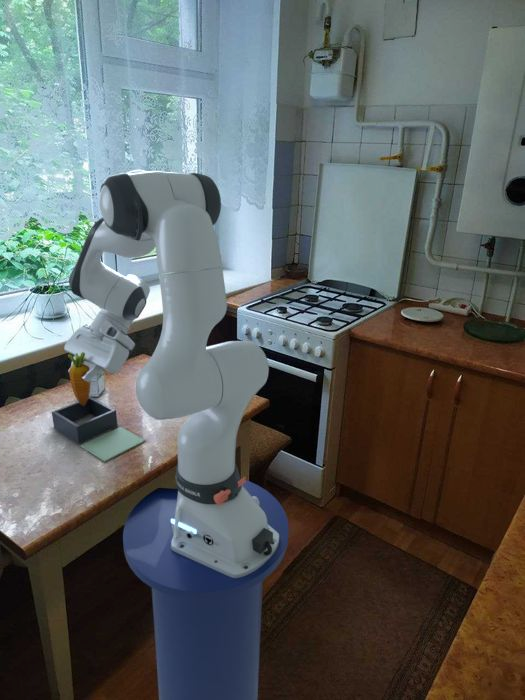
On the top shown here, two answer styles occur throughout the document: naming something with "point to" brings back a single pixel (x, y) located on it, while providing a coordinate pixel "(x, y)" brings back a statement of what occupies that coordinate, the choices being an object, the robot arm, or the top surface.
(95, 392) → the syrup box
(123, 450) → the mat
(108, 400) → the top surface
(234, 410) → the robot arm
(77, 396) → the carrot
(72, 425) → the crate
